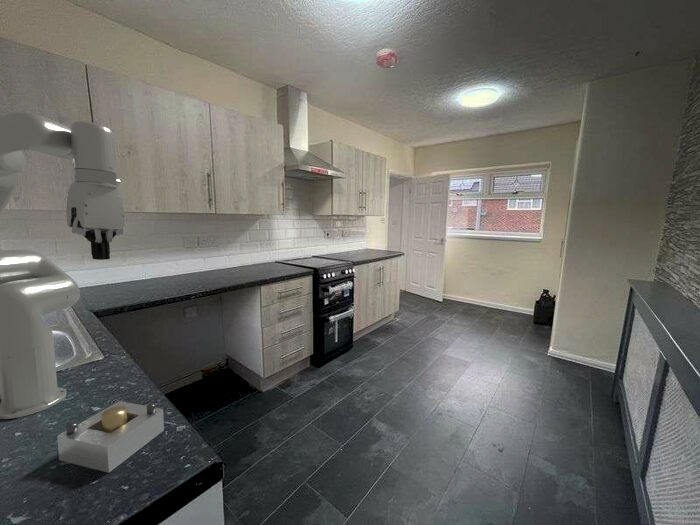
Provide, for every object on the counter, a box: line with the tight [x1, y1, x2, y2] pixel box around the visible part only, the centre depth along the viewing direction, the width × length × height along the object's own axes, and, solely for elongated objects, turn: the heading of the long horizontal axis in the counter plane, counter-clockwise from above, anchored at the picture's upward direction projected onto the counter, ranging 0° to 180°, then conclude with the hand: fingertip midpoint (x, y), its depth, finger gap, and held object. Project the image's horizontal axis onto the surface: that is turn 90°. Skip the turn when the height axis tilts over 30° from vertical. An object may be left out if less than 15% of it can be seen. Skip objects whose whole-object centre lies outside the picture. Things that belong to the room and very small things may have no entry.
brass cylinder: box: [102, 406, 127, 433], centre depth 61 cm, size 4×4×7 cm
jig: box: [56, 400, 165, 474], centre depth 60 cm, size 12×12×7 cm
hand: (101, 259), depth 70 cm, fingers closed
